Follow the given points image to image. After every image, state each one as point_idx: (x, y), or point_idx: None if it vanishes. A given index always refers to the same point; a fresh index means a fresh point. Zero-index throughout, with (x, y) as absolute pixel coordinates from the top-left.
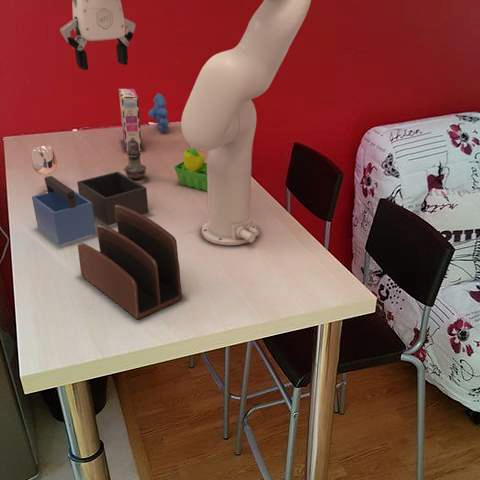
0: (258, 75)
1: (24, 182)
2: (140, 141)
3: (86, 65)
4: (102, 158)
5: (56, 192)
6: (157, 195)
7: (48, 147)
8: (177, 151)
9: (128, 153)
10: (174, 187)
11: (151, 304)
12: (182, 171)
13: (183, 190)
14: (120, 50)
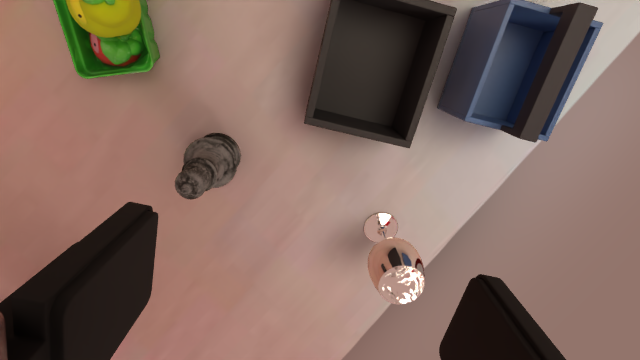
0: None
1: (367, 301)
2: None
3: (500, 292)
4: (189, 290)
5: (496, 123)
6: (242, 55)
7: (378, 288)
8: (30, 208)
9: (210, 183)
10: (182, 56)
11: None
12: (147, 37)
13: (178, 24)
14: (93, 325)
